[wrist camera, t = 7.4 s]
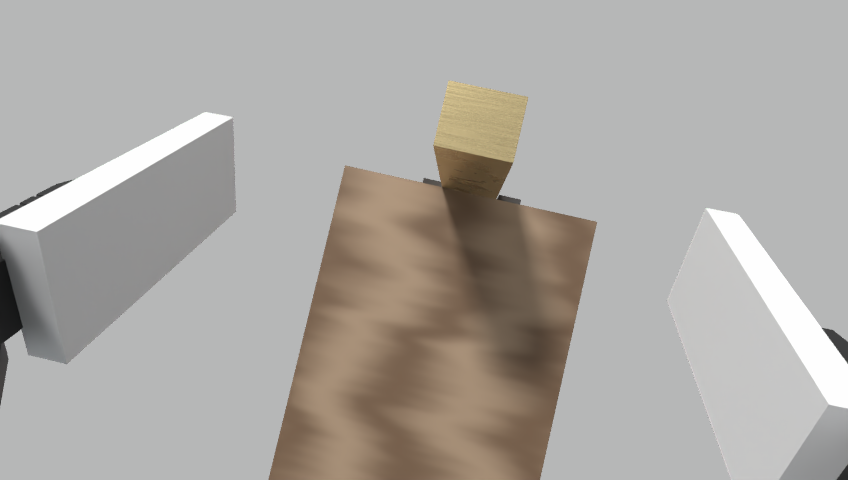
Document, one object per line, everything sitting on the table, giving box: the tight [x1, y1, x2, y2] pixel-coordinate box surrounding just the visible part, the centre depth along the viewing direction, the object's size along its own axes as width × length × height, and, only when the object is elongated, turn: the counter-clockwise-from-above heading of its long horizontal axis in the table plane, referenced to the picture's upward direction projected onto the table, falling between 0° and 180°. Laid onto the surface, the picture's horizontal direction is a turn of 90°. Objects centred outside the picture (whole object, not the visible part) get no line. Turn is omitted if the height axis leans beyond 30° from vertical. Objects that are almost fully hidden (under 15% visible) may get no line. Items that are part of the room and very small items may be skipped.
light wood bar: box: [433, 81, 528, 199], centre depth 34 cm, size 3×26×2 cm, turn 177°
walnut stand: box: [269, 166, 597, 480], centre depth 37 cm, size 14×15×38 cm
